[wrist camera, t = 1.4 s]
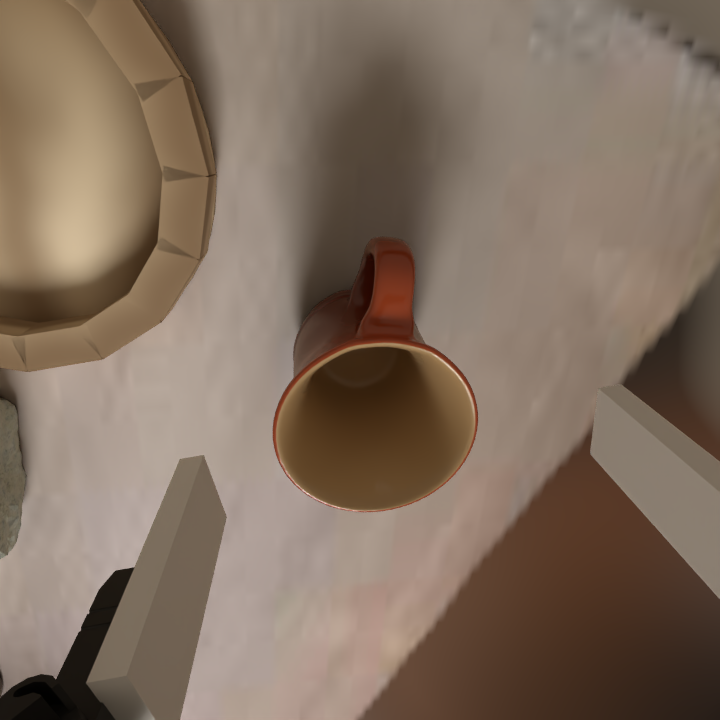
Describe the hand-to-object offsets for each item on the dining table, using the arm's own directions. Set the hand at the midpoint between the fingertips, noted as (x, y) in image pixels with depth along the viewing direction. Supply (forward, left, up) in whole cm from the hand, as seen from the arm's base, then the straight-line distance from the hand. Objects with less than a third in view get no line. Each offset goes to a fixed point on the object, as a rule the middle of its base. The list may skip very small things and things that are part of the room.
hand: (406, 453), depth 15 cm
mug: (0, 0, -14) cm, 14 cm away
